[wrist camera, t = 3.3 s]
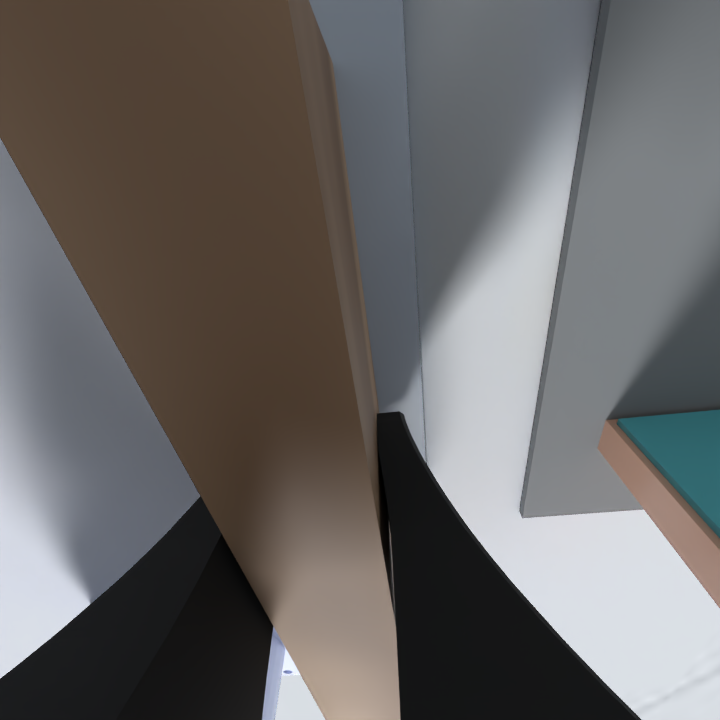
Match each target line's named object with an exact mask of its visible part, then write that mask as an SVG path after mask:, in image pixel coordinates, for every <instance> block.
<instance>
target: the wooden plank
mask: <svg viewBox="0 0 720 720" xmlns="http://www.w3.org/2000/svg"><path fill="white" fill-rule="evenodd" d="M0 138H1V140H2V142H3V143H4V145H5V147H6V149H7V151H8V152H9V154H10V156H11V158H12V160H13V161H14V163H15V165H16V167H17V168H18V170H19V172H20V174H21V176H22V177H23V179H24V181H25V183H26V185H27V186H28V188H29V190H30V192H31V193H32V195H33V197H34V199H35V201H36V202H37V204H38V206H39V208H40V210H41V211H42V213H43V215H44V217H45V219H46V220H47V222H48V224H49V226H50V227H51V229H52V231H53V233H54V235H55V236H56V238H57V240H58V242H59V244H60V245H61V247H62V249H63V251H64V253H65V254H66V256H67V258H68V260H69V261H70V263H71V265H72V267H73V269H74V270H75V272H76V274H77V276H78V278H79V279H80V281H81V283H82V285H83V286H84V288H85V290H86V292H87V294H88V295H89V297H90V299H91V301H92V303H93V304H94V306H95V308H96V310H97V312H98V313H99V315H100V317H101V319H102V320H103V322H104V324H105V326H106V328H107V329H108V331H109V333H110V335H111V337H112V338H113V340H114V342H115V344H116V346H117V347H118V349H119V351H120V353H121V354H122V356H123V358H124V360H125V362H126V363H127V365H128V367H129V369H130V371H131V372H132V374H133V376H134V378H135V379H136V381H137V383H138V385H139V387H140V388H141V390H142V392H143V394H144V396H145V397H146V399H147V401H148V403H149V405H150V406H151V408H152V410H153V412H154V413H155V415H156V417H157V419H158V421H159V422H160V424H161V426H162V428H163V430H164V431H165V433H166V435H167V437H168V438H169V440H170V442H171V444H172V446H173V447H174V449H175V451H176V453H177V455H178V456H179V458H180V460H181V462H182V464H183V465H184V467H185V469H186V471H187V472H188V474H189V476H190V478H191V480H192V481H193V483H194V485H195V487H196V489H197V490H198V492H199V494H200V496H201V498H202V499H203V501H204V503H205V505H206V506H207V508H208V510H209V512H210V514H211V515H212V517H213V519H214V521H215V523H216V524H217V526H218V528H219V530H220V531H221V533H222V535H223V537H224V539H225V540H226V542H227V544H228V546H229V548H230V549H231V551H232V553H233V555H234V557H235V558H236V560H237V562H238V564H239V565H240V567H241V569H242V571H243V573H244V574H245V576H246V578H247V580H248V582H249V583H250V585H251V587H252V589H253V591H254V592H255V594H256V596H257V598H258V599H259V601H260V603H261V605H262V607H263V608H264V610H265V612H266V614H267V616H268V617H269V619H270V621H271V623H272V624H273V626H274V628H275V630H276V632H277V633H278V635H279V637H280V639H281V641H282V642H283V644H284V646H285V648H286V650H287V651H288V653H289V655H290V657H291V658H292V660H293V662H294V664H295V666H296V667H297V669H298V671H299V673H300V675H301V676H302V678H303V680H304V682H305V683H306V685H307V687H308V689H309V691H310V692H311V694H312V696H313V698H314V700H315V701H316V703H317V705H318V707H319V709H320V710H321V712H322V714H323V716H324V717H325V719H326V720H400V698H399V678H398V657H397V637H396V618H395V599H394V581H393V563H392V546H391V533H390V527H389V521H388V514H387V507H386V500H385V493H384V486H383V480H382V473H381V466H380V459H379V452H378V445H377V413H379V406H378V398H377V391H376V383H375V376H374V368H373V361H372V353H371V346H370V338H369V331H368V323H367V316H366V308H365V301H364V293H363V286H362V278H361V271H360V263H359V256H358V248H357V241H356V233H355V226H354V218H353V211H352V203H351V196H350V188H349V181H348V173H347V166H346V158H345V151H344V143H343V136H342V128H341V121H340V113H339V106H338V98H337V91H336V83H335V76H334V68H333V62H332V60H331V57H330V54H329V52H328V49H327V47H326V44H325V41H324V39H323V36H322V34H321V31H320V28H319V26H318V23H317V21H316V18H315V15H314V13H313V10H312V7H311V5H310V2H309V0H0Z"/></svg>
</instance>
